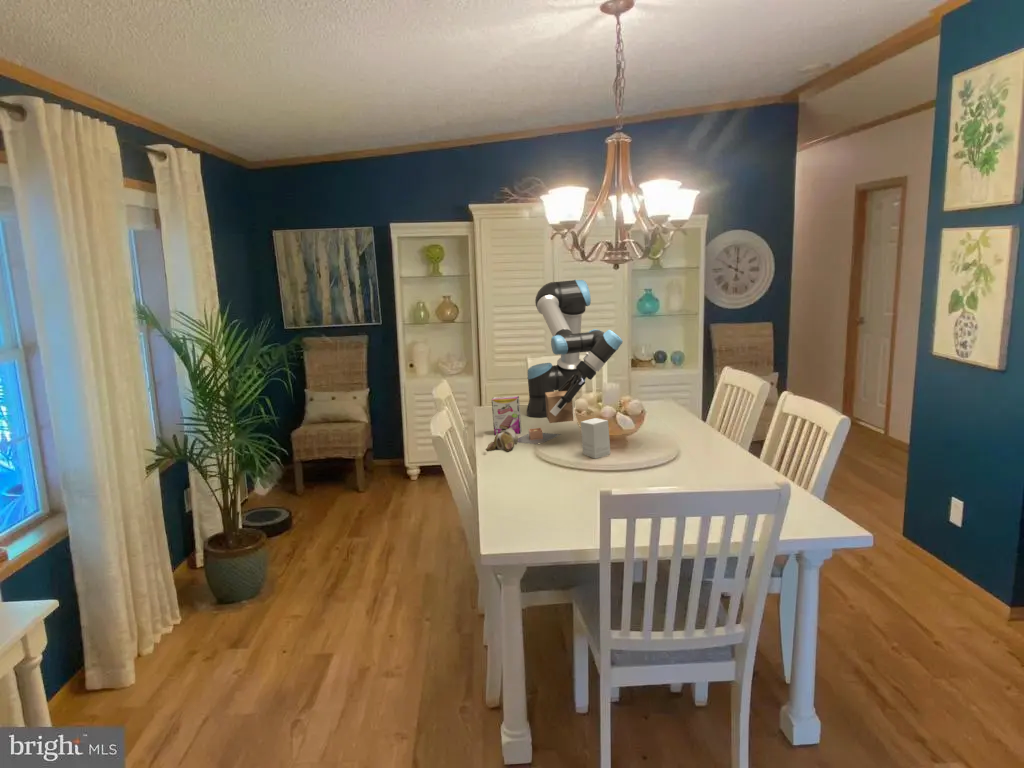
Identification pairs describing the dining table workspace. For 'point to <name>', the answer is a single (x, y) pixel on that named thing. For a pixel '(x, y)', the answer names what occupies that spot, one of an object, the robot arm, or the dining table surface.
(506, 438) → the ceramic sculpture
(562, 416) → the wooden block
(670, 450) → the dining table surface
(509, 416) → the candy bar box
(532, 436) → the dish
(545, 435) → the board
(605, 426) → the supplement box
